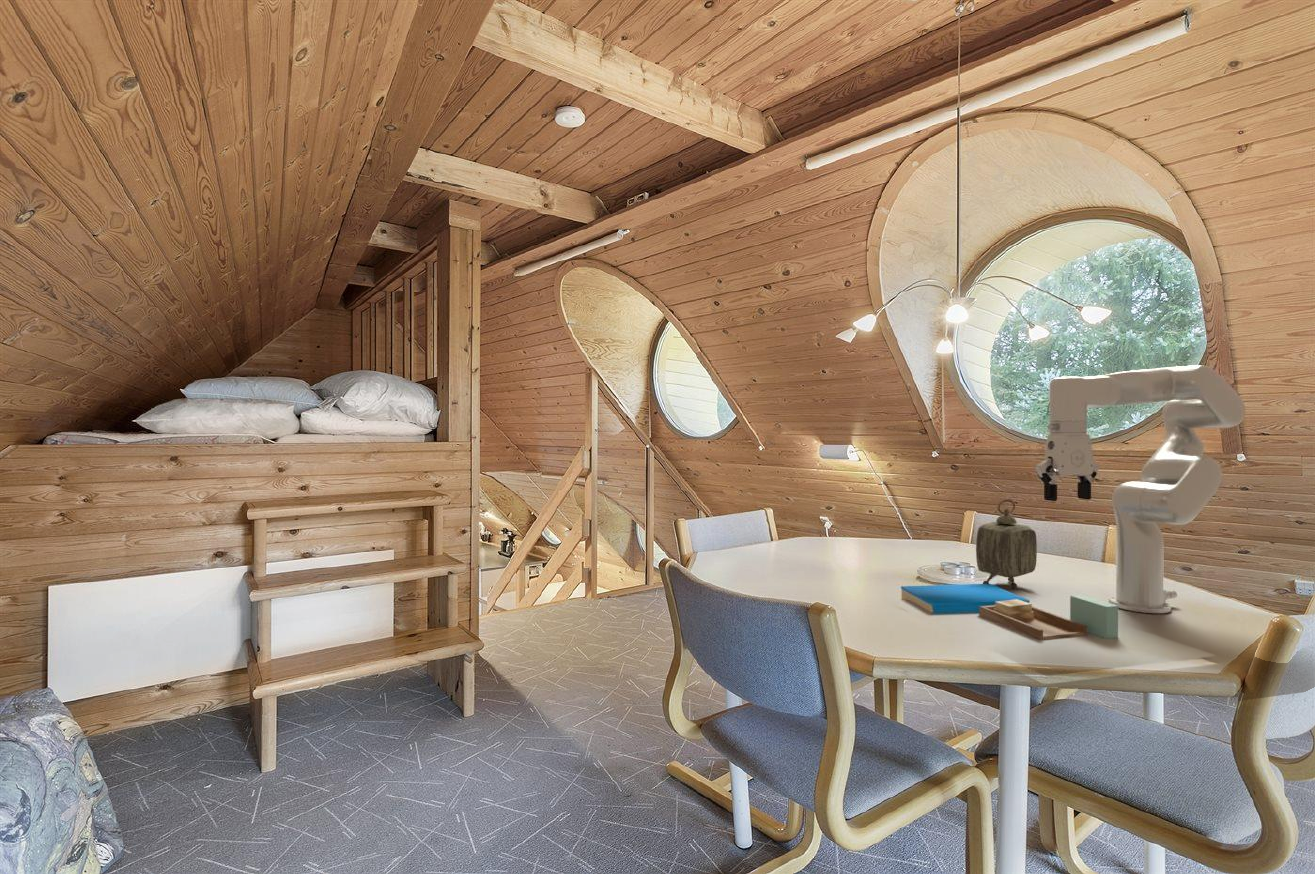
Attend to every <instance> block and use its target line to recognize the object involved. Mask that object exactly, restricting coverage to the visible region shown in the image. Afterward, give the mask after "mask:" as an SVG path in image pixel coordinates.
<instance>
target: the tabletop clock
mask: <svg viewBox="0 0 1315 874" xmlns="http://www.w3.org/2000/svg"><path fill="white" fill-rule="evenodd" d="M1005 502H1010V503H1011V504H1012V508H1011V510H1009V509H1008V508H1005V509H1004V510H1001V509H1000V507H1001V506H1002V505H1003V503H1005ZM997 504H998V505H997V511H998V512H999V513H1000V514H1001V515H999V516H998V517H997V518H996V521H992V522H988V523H984V524H982V525H980V526H979V527H978V529H977V533H976V541H975V542H976V543H975V544H976V545H975V554H976V555H975V556H976V565H977V569H978V571H980V572H983V573H985V574H990V575H989V576H988V578H987V580H983V582H982V584H990V581H991V580H992V579H993V578H994V577H996V576H999V577H1003V578H1007V580H1008V582H1009V583H1010V588H1012V589H1016V588H1018V584H1017V583H1016V582H1015V578H1017V577H1021V576H1024V575H1028V574H1030V573H1033V572H1034V571H1035V570H1036V566H1037V560H1038V559H1037V558H1038V557H1037V554H1038V550H1037V549H1038V548H1037V547H1038V545H1037V542H1038V541H1037V534H1036V531H1035V530H1034V529H1033V528H1031V527H1030V526H1028V525H1023V524H1018V522H1017V519H1016V518H1015V517H1014V516H1012V515H1010V514H1011V513H1014V511H1015V509H1016V504H1015V501H1013V500H1012V499H1009V498H1005V499H1001V501H1000V502H999V503H997Z"/></svg>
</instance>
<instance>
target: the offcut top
mask: <svg viewBox="0 0 1315 874" xmlns="http://www.w3.org/2000/svg"><path fill="white" fill-rule="evenodd" d="M1032 607H1033V604H1032V603H1027V602H1024V601H1021V600H1018V599H1015V600H1006V601H997V602H995V609H996V610H999V611H1002V612H1004V613H1007V614H1017V613H1025V612H1032Z"/></svg>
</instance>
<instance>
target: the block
mask: <svg viewBox="0 0 1315 874" xmlns="http://www.w3.org/2000/svg"><path fill="white" fill-rule="evenodd" d="M1069 598H1070V599H1069V603H1070V604H1069V606H1070V608H1069V609H1070V611H1069V612H1070V613H1069V617H1070V618H1069V620H1072V621H1075V622H1078V623H1080V624H1083V625H1086V626H1087V633H1089V634H1090V633H1091V634H1093V635H1095V636H1098V637H1100V638H1101V637H1102V638H1103V639H1116V638H1117V639H1118V638H1119V608H1118V606H1117V605H1113V604H1110V603H1109V602H1107V601H1104V600H1099V599H1096V598H1093V597H1090V596H1086V595H1083V594H1076V595H1070V597H1069Z"/></svg>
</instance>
